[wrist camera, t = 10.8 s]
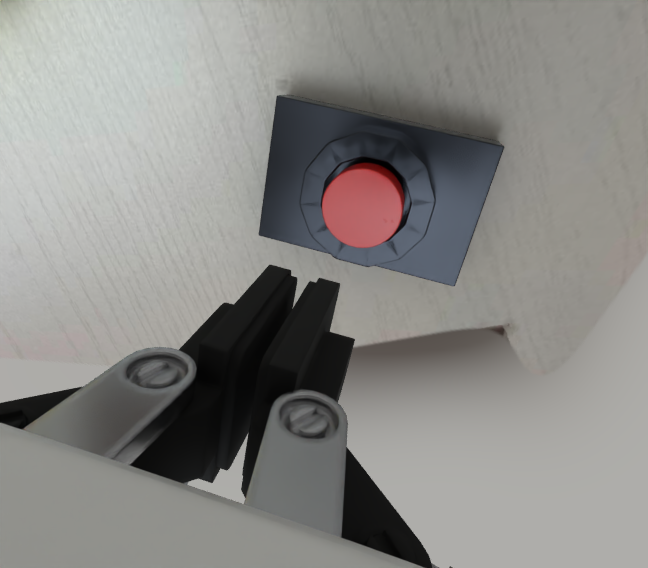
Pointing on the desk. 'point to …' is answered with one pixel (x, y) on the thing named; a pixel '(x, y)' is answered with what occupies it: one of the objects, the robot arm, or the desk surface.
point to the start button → (363, 205)
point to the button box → (395, 155)
